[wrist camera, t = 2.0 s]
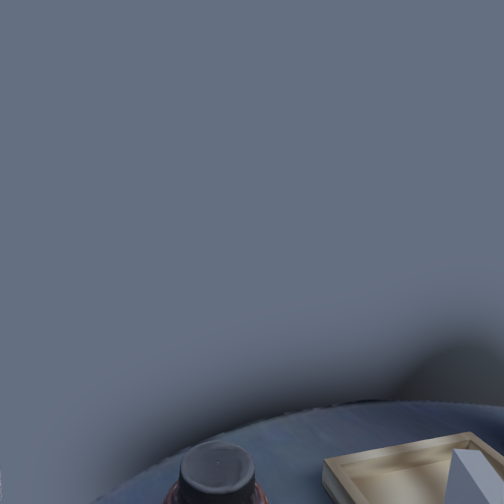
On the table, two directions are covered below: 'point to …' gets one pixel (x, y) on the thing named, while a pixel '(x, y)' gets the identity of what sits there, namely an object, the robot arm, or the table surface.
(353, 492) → the tray
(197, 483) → the supplement bottle
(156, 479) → the table surface
